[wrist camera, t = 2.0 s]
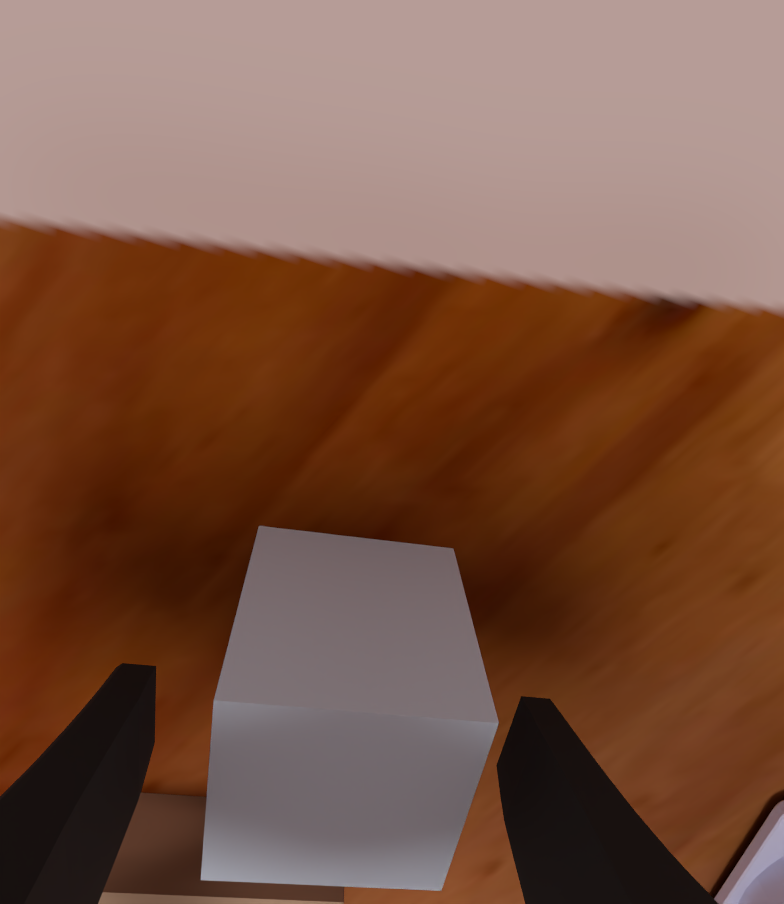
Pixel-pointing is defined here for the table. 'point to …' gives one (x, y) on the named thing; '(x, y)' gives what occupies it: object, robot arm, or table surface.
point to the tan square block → (186, 863)
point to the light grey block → (346, 717)
